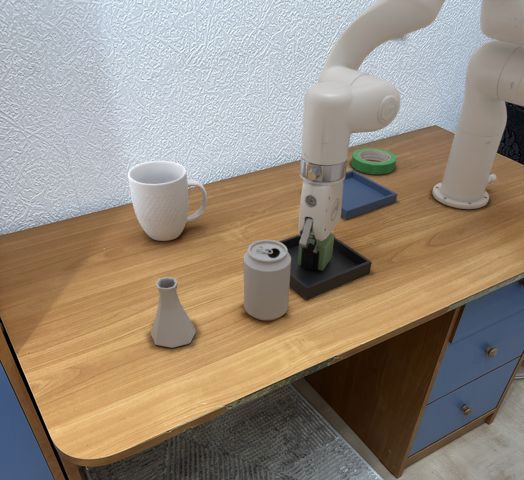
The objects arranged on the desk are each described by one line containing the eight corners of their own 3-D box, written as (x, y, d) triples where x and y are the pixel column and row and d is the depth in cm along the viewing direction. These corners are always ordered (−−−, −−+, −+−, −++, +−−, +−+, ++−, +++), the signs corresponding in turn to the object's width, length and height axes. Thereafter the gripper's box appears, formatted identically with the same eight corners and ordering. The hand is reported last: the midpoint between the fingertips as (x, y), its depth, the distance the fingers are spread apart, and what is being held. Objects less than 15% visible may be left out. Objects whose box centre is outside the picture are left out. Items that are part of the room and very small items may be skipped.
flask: (152, 320, 84) (143, 269, 77) (196, 318, 85) (191, 268, 78) (149, 350, 79) (139, 298, 72) (196, 348, 79) (190, 296, 73)
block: (307, 251, 99) (309, 228, 95) (332, 257, 97) (334, 234, 94) (297, 264, 95) (299, 241, 92) (322, 271, 94) (325, 247, 90)
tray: (351, 177, 126) (352, 169, 124) (395, 202, 117) (397, 193, 115) (303, 192, 119) (303, 184, 118) (345, 219, 110) (347, 211, 109)
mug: (202, 214, 111) (197, 154, 102) (216, 239, 103) (213, 177, 95) (133, 224, 107) (123, 164, 98) (143, 251, 100) (132, 188, 91)
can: (283, 326, 84) (287, 264, 75) (239, 320, 85) (238, 258, 76) (291, 299, 89) (295, 239, 81) (249, 293, 90) (249, 233, 82)
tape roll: (367, 154, 137) (369, 144, 135) (402, 166, 131) (404, 156, 130) (342, 165, 131) (343, 155, 129) (378, 179, 125) (380, 168, 124)
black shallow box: (318, 237, 104) (319, 226, 103) (369, 273, 95) (372, 261, 94) (257, 259, 98) (257, 248, 96) (305, 300, 89) (307, 288, 87)
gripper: (326, 193, 77) (317, 290, 89) (361, 152, 88) (348, 243, 101) (281, 183, 79) (278, 279, 92) (320, 145, 90) (313, 235, 103)
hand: (315, 260), depth 96 cm, fingers closed on block, 5 cm apart
